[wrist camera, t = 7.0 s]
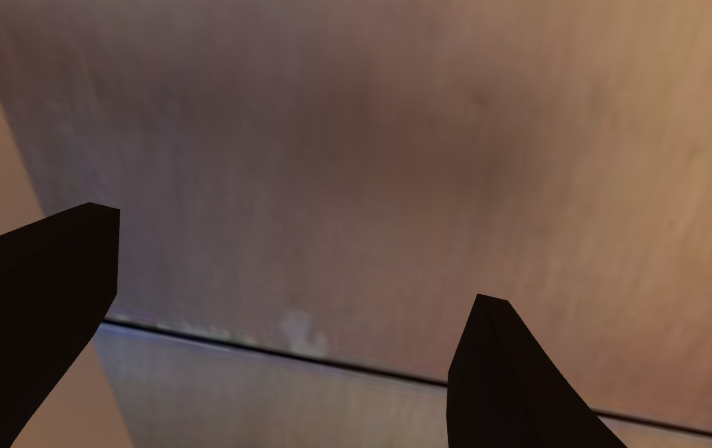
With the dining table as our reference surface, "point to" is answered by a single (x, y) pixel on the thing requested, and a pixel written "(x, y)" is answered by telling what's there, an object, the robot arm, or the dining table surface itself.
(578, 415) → the robot arm
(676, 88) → the dining table surface
